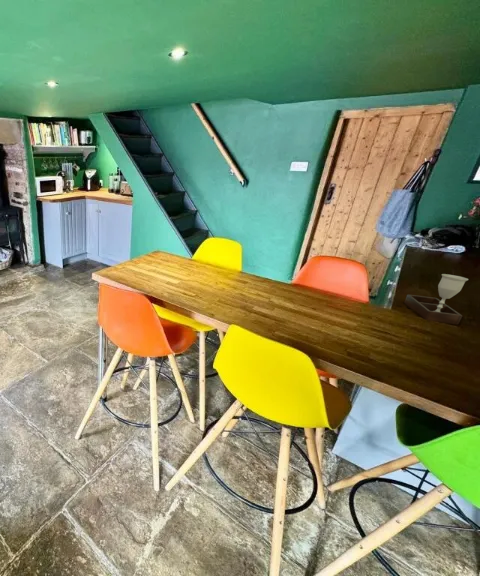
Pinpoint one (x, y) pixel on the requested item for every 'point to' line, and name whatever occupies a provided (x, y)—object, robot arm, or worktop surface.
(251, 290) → the worktop surface
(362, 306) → the worktop surface
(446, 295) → the chalice
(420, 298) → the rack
